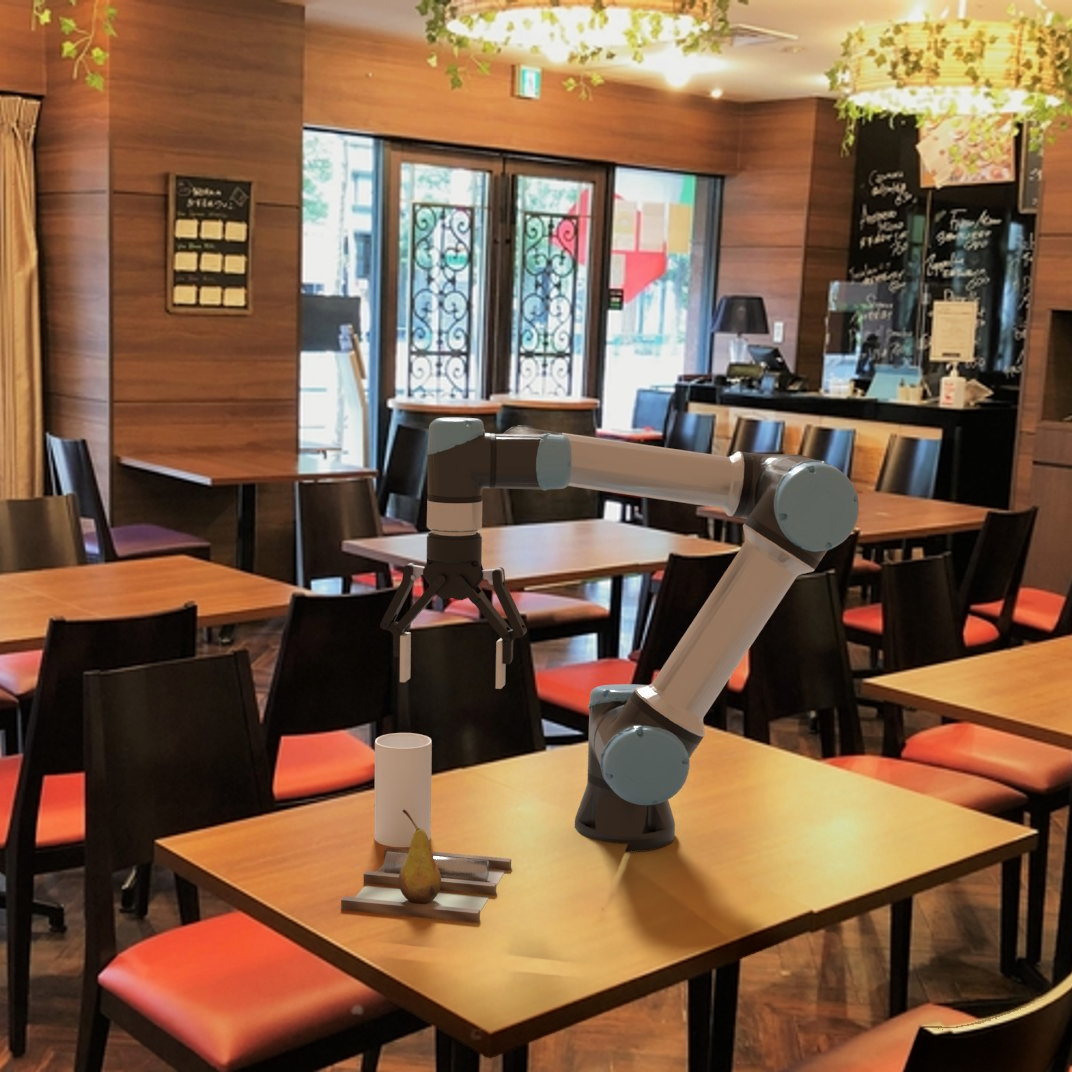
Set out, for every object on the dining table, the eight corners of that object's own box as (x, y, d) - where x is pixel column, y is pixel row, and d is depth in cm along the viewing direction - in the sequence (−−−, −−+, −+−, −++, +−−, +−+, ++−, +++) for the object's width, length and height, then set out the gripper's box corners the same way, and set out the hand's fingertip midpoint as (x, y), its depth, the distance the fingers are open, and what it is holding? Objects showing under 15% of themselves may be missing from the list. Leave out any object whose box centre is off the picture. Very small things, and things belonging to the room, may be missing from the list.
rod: (490, 863, 204) (486, 857, 202) (487, 885, 203) (483, 879, 200) (391, 854, 207) (386, 848, 204) (387, 876, 206) (382, 870, 203)
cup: (421, 858, 215) (422, 750, 213) (367, 853, 217) (367, 745, 214) (436, 839, 223) (438, 735, 221) (384, 834, 225) (384, 731, 222)
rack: (510, 876, 209) (511, 858, 208) (477, 932, 189) (477, 913, 189) (386, 865, 212) (386, 847, 212) (341, 919, 193) (341, 899, 192)
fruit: (407, 912, 192) (407, 822, 190) (392, 896, 197) (393, 808, 195) (448, 906, 194) (449, 817, 192) (432, 891, 199) (433, 803, 197)
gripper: (549, 532, 206) (546, 682, 209) (374, 523, 211) (374, 671, 214) (538, 539, 199) (535, 695, 202) (358, 530, 203) (357, 683, 206)
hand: (452, 683), depth 208 cm, fingers open, 13 cm apart
